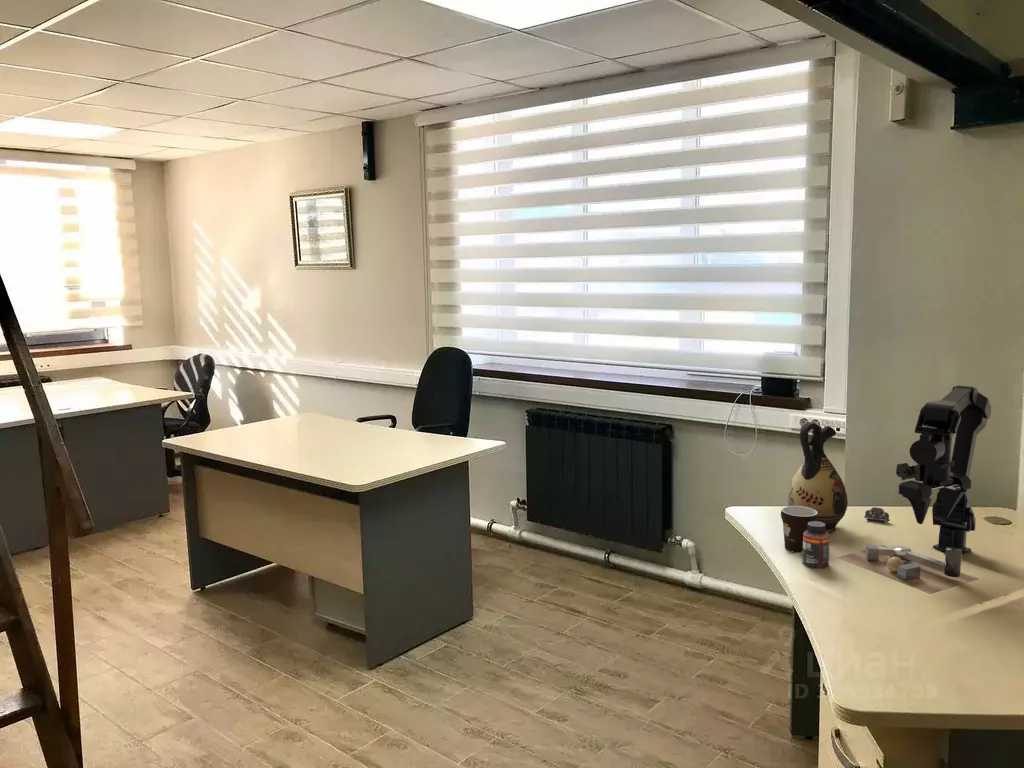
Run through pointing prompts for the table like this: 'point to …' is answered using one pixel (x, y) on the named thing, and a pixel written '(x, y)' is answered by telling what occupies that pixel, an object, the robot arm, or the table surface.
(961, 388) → the robot arm
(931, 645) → the table surface
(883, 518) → the car cutout
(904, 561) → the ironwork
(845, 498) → the ceramic jug
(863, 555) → the board
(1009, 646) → the table surface
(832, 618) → the table surface
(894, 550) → the lever
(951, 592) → the table surface
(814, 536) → the supplement bottle
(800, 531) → the coffee mug
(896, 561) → the tan ball
